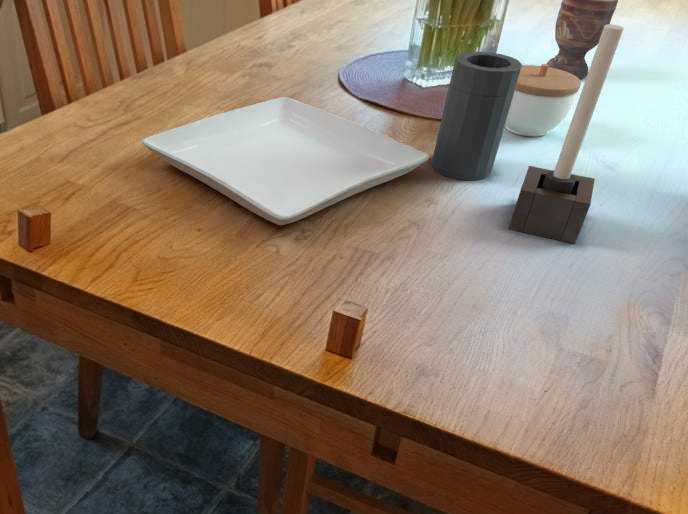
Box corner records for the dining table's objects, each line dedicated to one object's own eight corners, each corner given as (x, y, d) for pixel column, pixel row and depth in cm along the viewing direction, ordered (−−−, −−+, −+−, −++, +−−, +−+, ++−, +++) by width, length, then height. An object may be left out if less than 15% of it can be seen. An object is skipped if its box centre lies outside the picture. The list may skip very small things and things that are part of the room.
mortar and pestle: (546, 58, 136) (583, -62, 124) (595, 66, 133) (638, -57, 121) (537, 75, 128) (576, -51, 116) (589, 84, 125) (634, -45, 113)
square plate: (138, 164, 96) (137, 136, 94) (283, 118, 110) (285, 92, 108) (279, 245, 81) (282, 214, 78) (428, 179, 94) (435, 151, 92)
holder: (580, 216, 87) (595, 178, 84) (575, 244, 82) (590, 204, 79) (517, 203, 90) (529, 165, 86) (508, 229, 84) (520, 189, 81)
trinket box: (488, 137, 106) (506, 72, 100) (489, 112, 114) (505, 50, 108) (566, 147, 104) (589, 81, 98) (560, 120, 112) (581, 58, 106)
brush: (560, 220, 86) (632, 25, 72) (557, 231, 84) (631, 32, 70) (532, 214, 87) (598, 20, 74) (528, 225, 85) (595, 28, 71)
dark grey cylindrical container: (495, 163, 99) (525, 57, 90) (485, 185, 93) (516, 75, 85) (438, 151, 101) (462, 48, 93) (425, 172, 96) (450, 64, 87)
